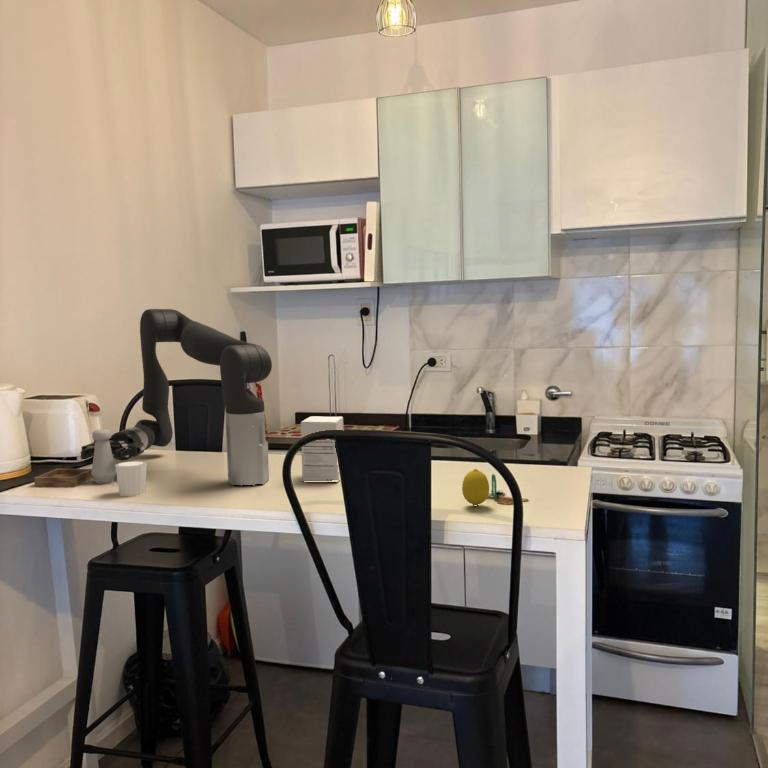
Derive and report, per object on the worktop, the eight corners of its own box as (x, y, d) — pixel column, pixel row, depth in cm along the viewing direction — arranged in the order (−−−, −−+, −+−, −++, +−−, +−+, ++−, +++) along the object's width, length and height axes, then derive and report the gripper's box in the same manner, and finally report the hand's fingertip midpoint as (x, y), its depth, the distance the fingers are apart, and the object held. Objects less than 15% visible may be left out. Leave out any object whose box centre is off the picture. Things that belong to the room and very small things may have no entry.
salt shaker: (108, 485, 176) (105, 432, 175) (86, 484, 177) (83, 431, 176) (121, 479, 182) (118, 428, 181) (100, 478, 183) (97, 427, 182)
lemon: (487, 503, 154) (487, 466, 153) (490, 510, 148) (490, 471, 148) (461, 503, 154) (461, 466, 153) (463, 510, 149) (463, 472, 148)
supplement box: (310, 474, 184) (309, 415, 183) (345, 475, 183) (344, 416, 181) (301, 482, 175) (299, 421, 174) (337, 483, 174) (336, 421, 172)
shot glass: (138, 497, 164) (137, 466, 163) (110, 496, 165) (108, 466, 164) (153, 490, 170) (152, 460, 170) (126, 489, 172) (125, 460, 171)
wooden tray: (94, 477, 185) (93, 468, 185) (74, 486, 175) (74, 477, 175) (56, 477, 186) (56, 468, 186) (34, 486, 176) (34, 477, 176)
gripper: (101, 429, 194) (70, 440, 178) (153, 429, 193) (127, 439, 176) (103, 457, 194) (72, 470, 178) (155, 457, 193) (128, 470, 177)
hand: (99, 455), depth 177 cm, fingers open, 8 cm apart
